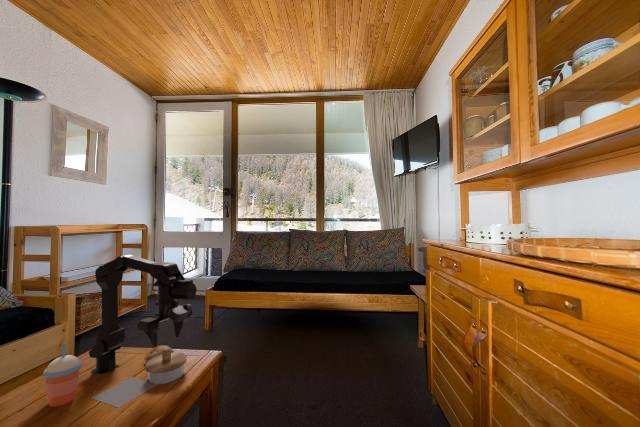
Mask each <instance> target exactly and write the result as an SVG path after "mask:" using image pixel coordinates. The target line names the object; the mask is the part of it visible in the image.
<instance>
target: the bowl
mask: <svg viewBox="0 0 640 427" xmlns="http://www.w3.org/2000/svg"><path fill="white" fill-rule="evenodd" d="M184 373H185V364H184V365H182V366H181V367H179V368H177V369H175V370H172V371H168V372H164V373H150V372H148V373H147V377H148V378H147V379H148V382H150V383H153V384H157V385H163V384H168V383H171V382H174V381H177V379H179V378H181V377H182V376H183V374H184Z"/></svg>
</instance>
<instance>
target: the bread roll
mask: <svg viewBox="0 0 640 427" xmlns="http://www.w3.org/2000/svg"><path fill="white" fill-rule="evenodd" d="M164 348H171V353H172V352H175V351H174V349H173V348H172V347H169V345H157V346H156V347H153V348H152V349H151V350H149V351H148V352H147V353H146V355H145V356H144V357H143V358H144V361H145V364H146V363H147V362H148V361H149V360H150V359H152V358H154V357H156V356H158V355H162V350H163V349H164Z"/></svg>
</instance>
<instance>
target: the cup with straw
mask: <svg viewBox="0 0 640 427" xmlns="http://www.w3.org/2000/svg"><path fill="white" fill-rule="evenodd" d="M66 345H67V344H66V342H65V341H64V342H62V343H61V356H59V357H57V358H55V359H54V360H52V361H51V362H50V363H49V364H48V366H47V367H46V368H45V369H44V371H43V373H42V376H43V377H44V378H45V388H46V396H47V400H48V406H49V407H51V408H52V407H53V408H55V407H61V406H63V405H66V404H68V403H70V402H72V401H74V399H76V396H77V389H78V387H79V380H80V369H81V368H82V366H83V361H81V360H79V358H78V357H77V356H75V355H71V354H67V355H66V351H67V350H66Z"/></svg>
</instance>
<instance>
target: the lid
mask: <svg viewBox="0 0 640 427" xmlns="http://www.w3.org/2000/svg"><path fill="white" fill-rule="evenodd" d="M171 348H172V347H170V348H164V349H163V350H162V355H158V356H156V357H154V358H152V359H150V360H149V361H148V362H147V363H145V371H146V372H150V373H164V372H168V371H172V370H175V369H177V368H179V367H181V366H182V365H184V366H185V363H186V362H187V355H186V354H185V353H184V352H177V351H176V352H175V351H174V352H172V353H171Z"/></svg>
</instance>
